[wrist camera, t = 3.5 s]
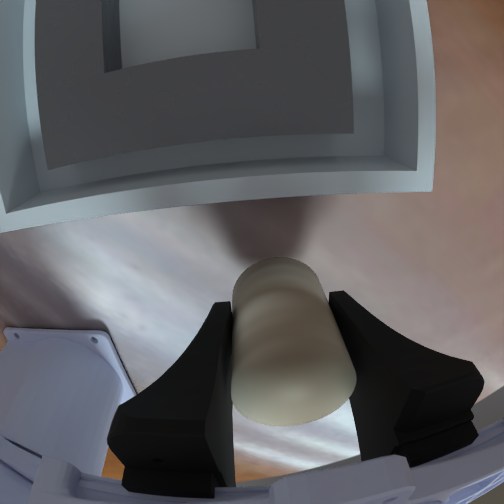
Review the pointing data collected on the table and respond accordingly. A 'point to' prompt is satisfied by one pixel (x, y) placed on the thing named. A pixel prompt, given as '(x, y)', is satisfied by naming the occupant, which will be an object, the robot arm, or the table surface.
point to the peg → (286, 346)
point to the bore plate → (188, 82)
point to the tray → (227, 150)
